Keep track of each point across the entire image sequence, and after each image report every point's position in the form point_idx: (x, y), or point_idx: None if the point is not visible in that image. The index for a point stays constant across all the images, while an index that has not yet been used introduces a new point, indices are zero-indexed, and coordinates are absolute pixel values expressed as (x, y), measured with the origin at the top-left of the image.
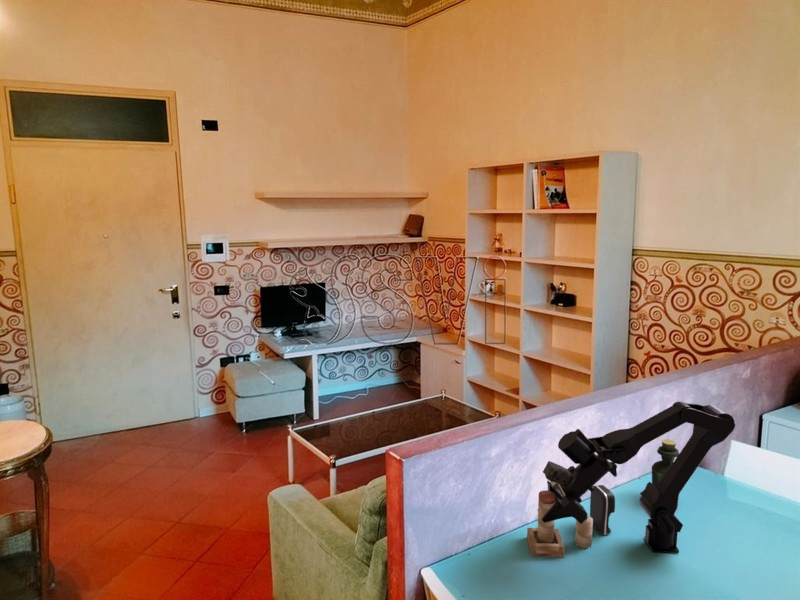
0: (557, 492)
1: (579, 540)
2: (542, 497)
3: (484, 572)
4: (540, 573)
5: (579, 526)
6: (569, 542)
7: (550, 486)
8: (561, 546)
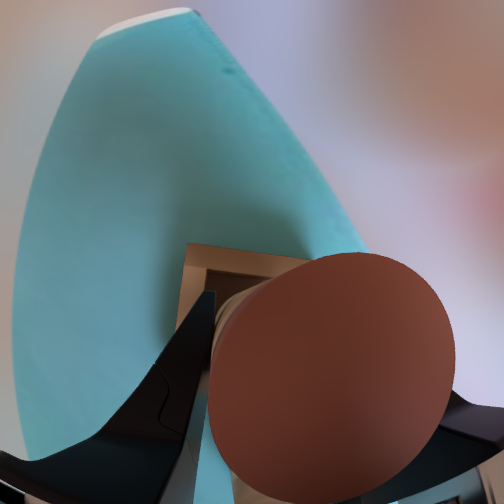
0: (415, 491)
1: None
2: (265, 291)
3: (136, 93)
4: (92, 255)
5: (252, 492)
6: None
7: (485, 452)
8: None
